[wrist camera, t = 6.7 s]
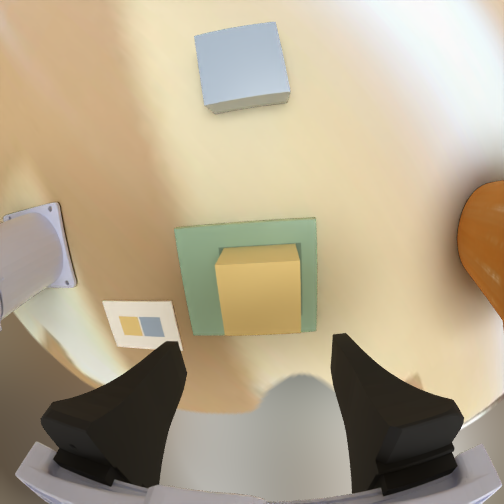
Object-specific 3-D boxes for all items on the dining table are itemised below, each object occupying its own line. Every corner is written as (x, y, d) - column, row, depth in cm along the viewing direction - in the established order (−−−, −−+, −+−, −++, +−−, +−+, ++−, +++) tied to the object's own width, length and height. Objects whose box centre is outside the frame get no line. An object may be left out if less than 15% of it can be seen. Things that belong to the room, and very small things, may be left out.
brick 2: (231, 310, 22) (225, 335, 18) (224, 248, 20) (214, 265, 17) (297, 307, 21) (301, 332, 18) (295, 243, 20) (300, 260, 16)
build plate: (195, 331, 23) (193, 335, 23) (176, 227, 21) (173, 229, 20) (315, 327, 22) (316, 331, 22) (314, 217, 20) (316, 219, 19)
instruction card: (118, 345, 25) (117, 346, 24) (103, 300, 23) (102, 301, 23) (183, 349, 24) (182, 351, 24) (171, 300, 23) (170, 301, 22)
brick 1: (215, 114, 18) (204, 105, 15) (206, 54, 17) (194, 36, 13) (287, 103, 18) (290, 91, 14) (275, 42, 16) (275, 21, 13)
